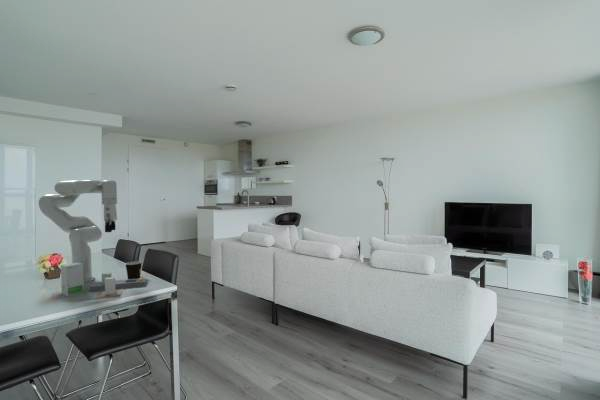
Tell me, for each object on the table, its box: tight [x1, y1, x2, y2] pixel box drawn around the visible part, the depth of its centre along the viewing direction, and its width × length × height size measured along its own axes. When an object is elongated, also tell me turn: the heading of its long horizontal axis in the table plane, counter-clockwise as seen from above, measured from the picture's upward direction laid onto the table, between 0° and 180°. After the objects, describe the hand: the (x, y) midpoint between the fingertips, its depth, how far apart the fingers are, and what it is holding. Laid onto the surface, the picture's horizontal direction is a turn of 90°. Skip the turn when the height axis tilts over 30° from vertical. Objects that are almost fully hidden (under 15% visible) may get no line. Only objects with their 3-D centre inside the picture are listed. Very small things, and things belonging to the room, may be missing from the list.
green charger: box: [101, 272, 113, 285], centre depth 174 cm, size 4×3×8 cm
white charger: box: [104, 276, 116, 295], centre depth 164 cm, size 4×3×8 cm
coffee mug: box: [125, 260, 143, 280], centre depth 193 cm, size 12×9×10 cm
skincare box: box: [60, 262, 85, 297], centre depth 166 cm, size 8×7×16 cm
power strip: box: [89, 277, 147, 292], centre depth 176 cm, size 26×8×4 cm, turn 109°
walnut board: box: [95, 288, 125, 299], centre depth 164 cm, size 11×11×1 cm
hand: (110, 231), depth 185 cm, fingers open, 9 cm apart
